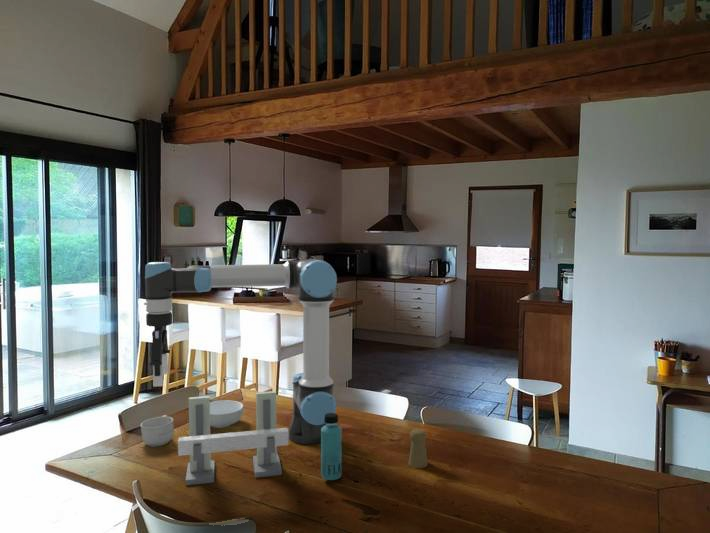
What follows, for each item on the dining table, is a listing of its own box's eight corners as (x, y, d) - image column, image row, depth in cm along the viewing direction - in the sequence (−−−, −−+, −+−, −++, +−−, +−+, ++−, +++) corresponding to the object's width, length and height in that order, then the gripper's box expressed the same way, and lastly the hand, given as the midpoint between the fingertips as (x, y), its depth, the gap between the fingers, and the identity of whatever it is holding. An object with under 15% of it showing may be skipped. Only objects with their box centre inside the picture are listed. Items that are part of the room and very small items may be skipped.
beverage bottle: (326, 487, 151) (325, 419, 150) (316, 477, 157) (316, 412, 156) (346, 482, 154) (346, 416, 153) (336, 473, 160) (336, 409, 159)
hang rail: (287, 441, 152) (287, 427, 152) (288, 445, 149) (288, 431, 149) (179, 451, 145) (178, 437, 145) (178, 455, 142) (177, 441, 142)
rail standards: (277, 458, 171) (277, 386, 169) (285, 492, 149) (285, 409, 147) (188, 467, 164) (186, 392, 162) (182, 504, 142) (180, 417, 140)
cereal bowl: (237, 433, 193) (237, 414, 192) (193, 432, 193) (192, 414, 192) (247, 416, 210) (247, 399, 209) (206, 416, 210) (206, 399, 209)
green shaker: (429, 461, 168) (430, 428, 167) (424, 469, 163) (424, 435, 162) (412, 458, 171) (412, 425, 170) (405, 465, 165) (406, 432, 165)
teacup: (163, 451, 177) (162, 427, 176) (134, 448, 179) (133, 425, 178) (184, 435, 190) (183, 413, 190) (157, 433, 192) (157, 411, 192)
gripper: (151, 307, 172) (153, 370, 174) (139, 319, 148) (141, 392, 150) (175, 306, 174) (177, 368, 176) (167, 318, 150) (169, 390, 151)
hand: (161, 380), depth 163 cm, fingers open, 13 cm apart
